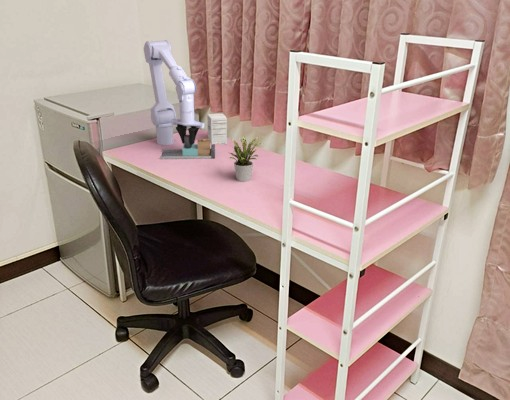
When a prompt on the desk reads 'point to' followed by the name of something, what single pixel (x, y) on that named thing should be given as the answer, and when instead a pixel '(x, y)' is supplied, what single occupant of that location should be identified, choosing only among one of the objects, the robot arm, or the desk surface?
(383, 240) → the desk surface
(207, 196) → the desk surface
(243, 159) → the house plant
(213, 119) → the supplement box
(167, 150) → the tray
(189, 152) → the ram
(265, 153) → the desk surface
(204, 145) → the wooden block with knob
